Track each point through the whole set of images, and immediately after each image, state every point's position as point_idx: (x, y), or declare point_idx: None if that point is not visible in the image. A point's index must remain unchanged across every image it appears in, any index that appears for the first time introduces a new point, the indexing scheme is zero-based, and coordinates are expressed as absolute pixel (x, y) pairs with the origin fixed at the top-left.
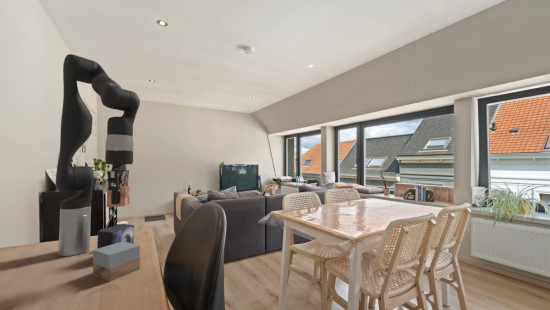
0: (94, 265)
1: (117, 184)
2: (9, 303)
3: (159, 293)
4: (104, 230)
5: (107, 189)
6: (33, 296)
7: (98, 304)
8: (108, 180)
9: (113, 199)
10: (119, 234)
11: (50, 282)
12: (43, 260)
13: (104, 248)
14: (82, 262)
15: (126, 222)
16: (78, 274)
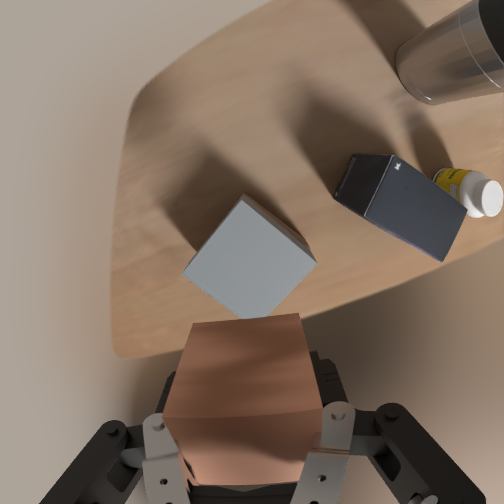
0: (237, 201)
1: (110, 480)
2: (138, 97)
3: (143, 353)
4: (389, 180)
5: (166, 406)
6: (157, 121)
7: (113, 270)
8: (66, 473)
9: (167, 389)
10: (383, 229)
11: (221, 109)
12: (373, 23)
13: (248, 231)
14: (344, 121)
15: (490, 213)
16: (257, 151)
